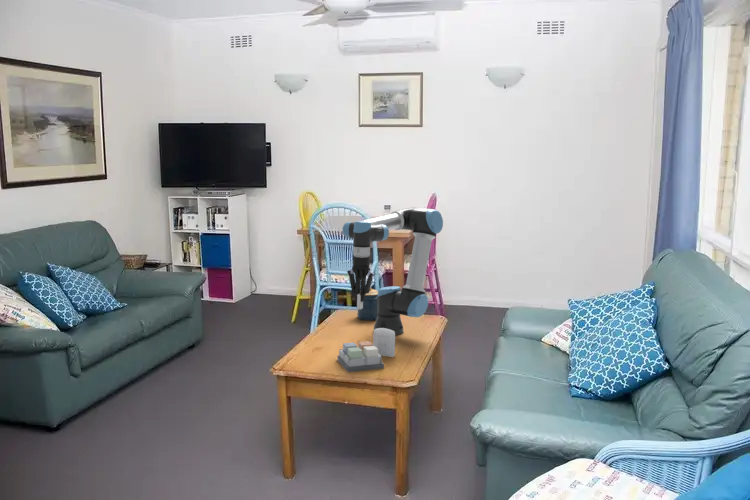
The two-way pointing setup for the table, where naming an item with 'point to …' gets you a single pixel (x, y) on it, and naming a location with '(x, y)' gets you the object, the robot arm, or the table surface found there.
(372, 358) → the keypad base
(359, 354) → the key sage
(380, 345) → the photo printer
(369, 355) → the key ivory
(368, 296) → the canister
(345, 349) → the key slate
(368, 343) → the key terracotta
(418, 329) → the table surface
